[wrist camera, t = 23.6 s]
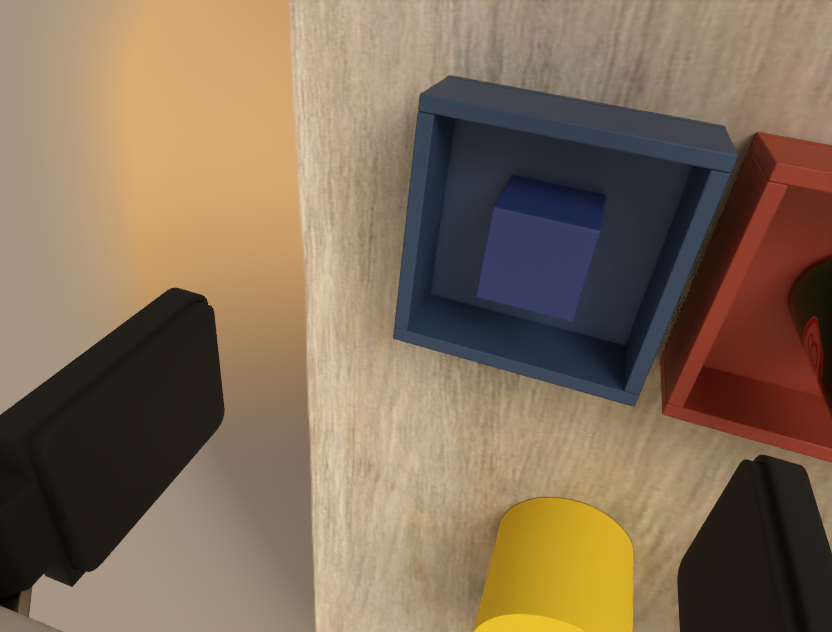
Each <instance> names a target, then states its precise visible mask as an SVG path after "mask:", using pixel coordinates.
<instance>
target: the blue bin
mask: <svg viewBox="0 0 832 632" xmlns="http://www.w3.org/2000/svg"><path fill="white" fill-rule="evenodd" d="M418 110H419V112H418V115H417V124H416V133H415V143H414V152H413V161H412V170H411V179H410V188H409V198H408V207H407V216H406V225H405V234H404V244H403V253H402V262H401V271H400V280H399V289H398V299H397V308H396V317H395V327H394V335H393V338H394V339H397V340H400V341H404V342H407V343H411V344H414V345H418V346H421V347H425V348H428V349H432V350H435V351H439V352H443V353H446V354H450V355H453V356H457V357H460V358H464V359H467V360H471V361H474V362H478V363H481V364H485V365H488V366H492V367H496V368H499V369H503V370H506V371H510V372H513V373H517V374H520V375H524V376H527V377H531V378H534V379H538V380H542V381H545V382H549V383H552V384H556V385H559V386H563V387H566V388H570V389H573V390H577V391H580V392H584V393H587V394H591V395H595V396H598V397H602V398H605V399H609V400H612V401H616V402H619V403H623V404H626V405H630V406H635V404H636V402H637V399H638V397H639V394H640V392H641V390H642V387H643V385H644V382H645V380H646V377H647V375H648V373H649V370H650V368H651V365H652V363H653V361H654V358H655V356H656V353H657V351H658V349H659V346H660V344H661V341H662V339H663V337H664V334H665V332H666V329H667V327H668V324H669V322H670V320H671V317H672V315H673V312H674V310H675V308H676V305H677V303H678V300H679V298H680V296H681V293H682V291H683V288H684V286H685V284H686V281H687V279H688V276H689V274H690V271H691V269H692V267H693V264H694V262H695V259H696V257H697V255H698V252H699V250H700V247H701V245H702V243H703V240H704V238H705V235H706V233H707V230H708V228H709V226H710V223H711V221H712V218H713V216H714V214H715V211H716V209H717V206H718V204H719V202H720V199H721V197H722V194H723V192H724V190H725V187H726V185H727V182H728V180H729V177H730V173H731V172H732V170H733V168H734V165H735V163H736V160H737V158H738V154H737V152H736V150H735V148H734V145H733V143H732V141H731V139H730V137H729V135H728V133H727V131H726V128H725V126H722V125H717V124H711V123H706V122H701V121H695V120H690V119H684V118H679V117H673V116H668V115H663V114H657V113H652V112H646V111H641V110H635V109H630V108H624V107H619V106H614V105H608V104H603V103H597V102H592V101H586V100H581V99H575V98H570V97H565V96H559V95H554V94H548V93H543V92H537V91H532V90H526V89H521V88H516V87H510V86H505V85H499V84H494V83H488V82H483V81H477V80H472V79H467V78H461V77H456V76H450V75H449V76H447V77H446V78H445V79H443V80H442V81H440V82H438V83H437V84H435V85H434V86H432V87H431V88H429V89H427V90H426V91H424V92H423V93H421V94H420V98H419V108H418ZM512 175H515V176H519V177H524V178H529V179H533V180H538V181H543V182H547V183H552V184H557V185H561V186H566V187H571V188H575V189H580V190H585V191H589V192H594V193H599V194H603V195H606V199H605V206H604V213H603V219H602V226H601V233H600V236H599V239H598V242H597V246H596V249H595V252H594V255H593V259H592V262H591V265H590V268H589V272H588V275H587V278H586V281H585V285H584V288H583V291H582V294H581V298H580V301H579V304H578V307H577V311H576V314H575V317H574V320H573V322H570V321H566V320H562V319H558V318H554V317H551V316H547V315H543V314H539V313H535V312H531V311H528V310H524V309H520V308H516V307H512V306H508V305H504V304H501V303H497V302H493V301H489V300H485V299H481V298H478V297H476V293H477V287H478V282H479V277H480V272H481V267H482V262H483V256H484V251H485V246H486V241H487V236H488V231H489V226H490V220H491V215H492V210H493V207H494V205H495V203H496V202H497V200H498V198H499V197H500V195H501V193H502V191H503V190H504V188H505V186H506V185H507V183H508V181H509V180H510V178H511V176H512Z"/></svg>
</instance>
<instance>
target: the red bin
mask: <svg viewBox="0 0 832 632" xmlns="http://www.w3.org/2000/svg"><path fill="white" fill-rule="evenodd" d="M831 259H832V146H831V145H826V144H820V143H815V142H809V141H804V140H798V139H793V138H788V137H782V136H777V135H771V134H766V133H760V132H757V133H756V135H755V138H754V140H753V142H752V145H751V147H750V150H749V152H748V154H747V157H746V159H745V161H744V164H743V166H742V168H741V171H740V173H739V176H738V178H737V180H736V183H735V185H734V187H733V190H732V192H731V195H730V197H729V199H728V202H727V204H726V206H725V209H724V211H723V213H722V216H721V218H720V221H719V223H718V225H717V228H716V230H715V232H714V235H713V237H712V239H711V242H710V244H709V247H708V249H707V251H706V254H705V256H704V258H703V261H702V263H701V265H700V268H699V270H698V273H697V275H696V277H695V280H694V282H693V284H692V287H691V289H690V291H689V294H688V296H687V299H686V301H685V303H684V306H683V308H682V310H681V313H680V315H679V318H678V320H677V322H676V325H675V327H674V329H673V332H672V334H671V336H670V339H669V341H668V344H667V346H666V348H665V351H664V353H663V355H662V358H661V360H660V370H661V392H662V414H663V415H666V416H670V417H673V418H677V419H680V420H684V421H688V422H691V423H695V424H698V425H702V426H705V427H709V428H712V429H716V430H719V431H723V432H726V433H730V434H733V435H737V436H741V437H744V438H748V439H751V440H755V441H758V442H762V443H765V444H769V445H772V446H776V447H779V448H783V449H787V450H790V451H794V452H797V453H801V454H804V455H808V456H811V457H815V458H818V459H822V460H825V461H829V462H832V418H831V415H830V413H829V410H828V408H827V405H826V403H825V400H824V398H823V396H822V393H821V391H820V388H819V386H818V383H817V381H816V378H815V376H814V373H813V371H812V368H811V366H810V364H809V361H808V359H807V356H806V354H805V351H804V349H803V346H802V344H801V341H800V339H799V337H798V334H797V332H796V329H795V327H794V324H793V322H792V319H791V316H790V313H789V301H790V297H791V294H792V291H793V289H794V287H795V286H796V284H797V283H798V282H799V280H800V279H801V278H802V277H803V276H804V275H805V274H806V273H807V272H809V271H810V270H812V269H813V268H814V267H816V266H818V265H820V264H822V263H824V262H826V261H828V260H831Z"/></svg>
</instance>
